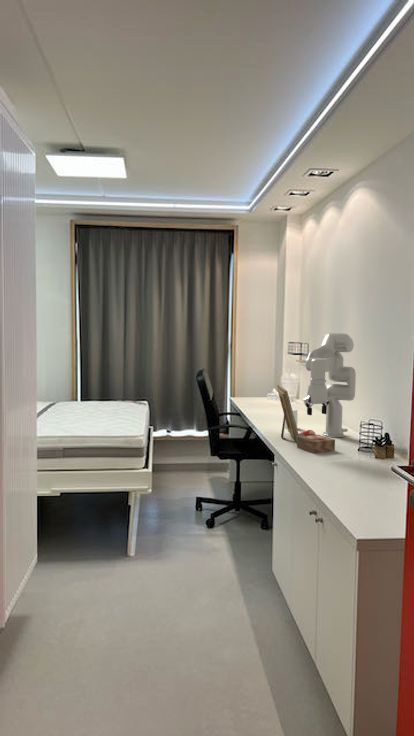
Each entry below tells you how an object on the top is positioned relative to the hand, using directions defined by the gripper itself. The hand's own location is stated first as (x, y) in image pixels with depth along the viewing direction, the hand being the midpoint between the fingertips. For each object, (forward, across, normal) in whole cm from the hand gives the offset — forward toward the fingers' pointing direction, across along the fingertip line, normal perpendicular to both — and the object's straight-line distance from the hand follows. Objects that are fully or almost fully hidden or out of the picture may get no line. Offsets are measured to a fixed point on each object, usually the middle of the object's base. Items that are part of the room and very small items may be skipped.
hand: (316, 414), depth 282 cm
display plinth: (+19, 0, 0) cm, 19 cm away
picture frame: (+19, -2, -29) cm, 35 cm away
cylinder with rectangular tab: (+19, -24, -56) cm, 64 cm away
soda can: (+15, -9, -16) cm, 24 cm away
